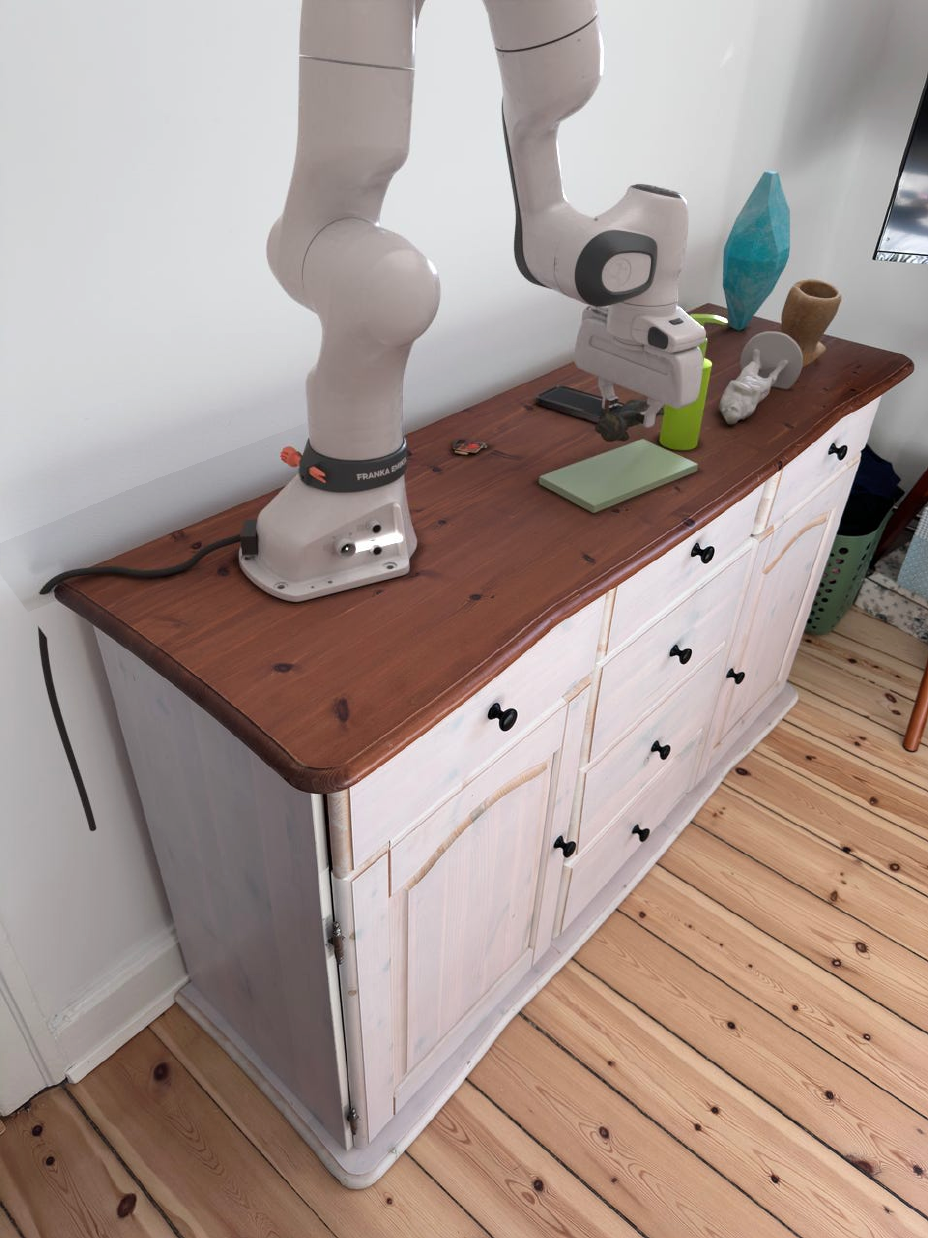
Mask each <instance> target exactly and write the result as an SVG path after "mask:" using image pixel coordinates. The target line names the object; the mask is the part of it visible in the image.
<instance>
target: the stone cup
mask: <svg viewBox="0 0 928 1238" xmlns="http://www.w3.org/2000/svg"><path fill="white" fill-rule="evenodd" d="M841 303H842V293H841V290H840V289H838V287H836V286H835V285H833V284H831V283H829V282H828V281H825V280H821V279H816V278H804V279H799V280H798V281H796V282H795V283H794V284H793V285H792V286H791V288H790V289H789V290H788V293H787V296H786V298H785V300H784V304H783V307H782V311H781V322H780V323H781V325H780V333H784V334H786V335H788V336H789V337H791V338H792V339H793V340H794V341H795V342H796V343H797V344H798V346H799V347H800V349H801V351H802V355H803V364H802V368H804V367H806V366H808V365H810V364H812V363H813V362H814V361H816V360H817V359H818V358H819V357H820V356H822V354H824V353H825V351H826V350H827V347H825V345H824V344H823V343H821V342H820V340H821V338H822V337H823V335H824V334H825V333H826V331H827V329H828V328H829V326H830V325H831V323H832V322H833V320H834V319H835V317H836V315H837V313H838V311H839V308H840V305H841Z"/></svg>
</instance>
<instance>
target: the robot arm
mask: <svg viewBox="0 0 928 1238" xmlns="http://www.w3.org/2000/svg"><path fill="white" fill-rule="evenodd" d="M425 1H426V0H301V9H300V23H299V36H298V37H299V40H298V41H299V42H298V55H299V56H298V93H297V94H298V95H297V96H298V101H297V139H296V147H295V148H296V149H295V154H294V161H293V168H292V172H291V177H290V181H289V182H290V183H289V186H288V190H287V194H286V198H285V203H284V207H283V211H282V213H281V214H280V215H279V217H278V218H277V219H276V221H274V223H273V224H272V227H271V228H270V231H269V232H268V235H267V241H266V247H265V252H266V253H265V254H266V259H267V264H268V267H269V270H270V272H271V274H272V275H273V277H274V278H275V280H276V281H277V282H278V284H279V286H280V287H281V288H282V289H283V291H284V292H285V293H286V294H287V295H288V296H289V297H290V298H291V299H292V300H293V301H294V302H295V303H297V304H299V305H300V306H302V307H304V308H305V309H307V310H309V311H310V312H312V313H314V314H316V315H317V317H318V319H319V322H320V326H321V341H320V347H319V353H318V358H317V362H316V363H315V364H314V365H313V366H312V367H311V368H310V370H309V371H308V373H307V375H306V377H305V383H304V385H305V386H304V387H305V397H306V398H305V401H306V411H307V425H308V438H307V440H306V443H305V446H304V449H303V452H302V453H301V452H300V451H298V450H296V449H295V448H294V447H293V446H290V445H288V446H284V447H283V448H282V450H281V451H280V456H279V457H280V460H281V461H282V462H283V463H285V464H287V465H288V466H289V467H290V468H296V467H298V470H297V474H296V475H295V476H294V477H293V478H292V479H291V480H290V481H289V482H288V483H287V484H286V485H285V487H283V488H282V489H281V490H280V491H279V492H278V494H276V496H274V497H273V499H271V500H270V501H269V502H268V503H267V504H266V505H265V506H264V507H263V508H262V509H261V510H260V512H259V513H258V517H257V519H255V518H254V519H253V518H251V519H244V520H243V524H242V527H241V531H240V533H238V534H235V535H232V536H229V537H225V538H222V539H219V540H216V541H214V542H212V543H210V544H208V545H205V546H204V547H202V548H201V549H200V550H198V551H197V552H196V553H195V554H194V555H192V557H191V558H190V559H188V560H186V561H184V562H182V563H179V564H177V565H173V566H169V567H165V568H164V567H163V568H157V569H156V568H155V569H134V568H128V567H124V566H117V565H106V566H105V565H104V566H92V567H82V568H75V569H70V570H66V571H63V572H61V573H59V574H57V575H55V576H53V577H52V578H51V579H49V580H48V581H47V582H46V583H45V584H44V585H43V586H42V588H41V589H40V590H39V593H38V594H39V595H47V594H49V593H50V592H51V591H52V590H53V589H54V588H56V586H58V585H59V584H60V583H62V582H64V581H67V580H69V579H73V578H77V577H84V576H94V575H95V576H96V575H105V574H108V575H109V574H115V575H116V574H117V575H121V576H126V577H131V578H133V577H134V578H139V579H140V578H141V579H143V578H158V577H159V578H160V577H166V576H172V575H176V574H179V573H182V572H184V571H187V570H189V569H191V568H193V567H194V566H195V565H197V564H198V563H199V562H200V561H202V559H203V558H205V556H207V555H208V554H210V553H212V552H214V551H216V550H219V549H221V548H224V547H227V546H230V545H234V544H237V543H239V542H240V548H239V551H238V565H239V567H240V569H241V571H242V572H243V573H244V575H245V576H246V577H247V578H248V579H249V580H250V581H251V582H252V583H253V584H254V585H255V586H257V587H258V588H260V589H261V590H262V591H263V592H266V593H267V594H269V595H271V596H273V597H275V598H278V599H281V600H284V601H288V602H293V603H298V602H304V601H308V600H312V599H316V598H321V597H323V596H327V595H330V594H335V593H339V592H343V591H347V590H352V589H354V588H359V587H364V586H367V585H370V584H375V583H379V582H383V581H387V580H391V579H394V578H398V577H402V576H405V575H407V574H408V573H409V572H410V569H411V567H410V559H411V557H412V556H413V554H414V553H415V551H416V550H417V546H418V538H417V535H416V533H415V529H414V527H413V523H412V519H411V515H410V510H409V504H408V503H409V502H408V497H407V491H406V479H405V478H406V477H405V475H406V471H408V470H407V469H408V449H407V439H406V437H405V436H404V381H405V380H404V379H405V374H406V368H407V363H408V360H409V357H410V353H411V351H412V347H413V345H414V343H415V341H416V340H419V338H420V337H422V336H423V335H424V334H425V333H426V332H427V330H428V329H429V328H430V327H431V325H432V324H433V322H434V320H435V318H436V316H437V314H438V310H439V307H440V303H441V296H442V295H441V294H442V291H441V289H442V288H441V282H440V278H439V274H438V272H437V269H436V267H435V266H434V264H433V263H432V262H431V261H430V259H429V258H428V257H427V256H426V255H424V253H423V252H422V251H421V250H420V249H419V248H418V247H417V246H415V245H414V244H413V243H412V242H411V241H410V240H409V239H408V238H406V237H404V236H403V235H401V234H399V233H398V232H397V233H396V232H394V231H392V230H389V229H387V228H384V227H382V226H381V224H380V223H381V222H380V219H381V211H382V208H383V203H384V201H385V198H386V194H387V191H388V188H389V186H390V183H391V182H392V179H393V177H394V176H395V175H396V173H398V172H399V171H400V170H401V169H402V168H403V167H404V165H405V164H406V162H407V160H408V157H409V154H410V148H411V147H410V145H411V131H412V116H413V102H414V101H413V100H414V86H415V68H416V54H417V53H416V52H417V28H418V22H419V20H420V19H419V18H420V15H421V12H422V9H423V6H424V4H425ZM481 1H482V4H483V5H484V8H485V11H486V13H487V18H488V25H489V29H490V33H491V38H492V42H493V47H494V51H495V56H496V60H497V64H498V65H497V66H498V69H499V75H500V80H501V87H502V97H501V98H502V99H501V122H502V131H503V138H504V146H505V152H506V153H505V154H506V159H507V164H508V171H509V177H510V183H511V189H512V195H513V201H514V202H513V203H514V210H515V226H514V238H513V239H514V240H513V254H514V261H515V264H516V267H517V269H518V271H519V273H520V274H521V275H522V276H523V278H524V279H525V280H527V282H529V283H531V284H532V285H536V286H539V287H541V288H545V289H550V290H553V291H555V292H557V293H559V294H561V295H563V296H565V297H568V298H570V299H574V300H575V301H578V302H580V303H582V304H584V305H587V306H586V307H585V308H584V309H583V310H582V313H581V324H580V326H579V329H578V333H577V335H576V336H577V337H576V342H575V347H574V352H573V362H574V365H575V367H576V368H577V369H579V370H580V371H583V372H585V373H587V374H590V375H593V376H595V377H598V379H597V385H598V388H599V392H600V394H601V397H603V401H602V408H603V409H605V410H608V411H612V410H616V409H617V407H618V404H617V403H618V402H619V400H620V397H618V396H616V393H615V390H614V385H613V384H615V385H617V386H620V387H621V388H624V389H627V390H629V391H632V392H634V393H636V394H639V395H642V396H643V397H646V398H647V400H646V402H647V404H648V405H650V406H649V408H648V409H647V411H645V412H641V413H639V420H638V424H639V425H640V426H642V427H644V428H647V429H648V428H651V427H653V426H654V425H655V421H656V418H655V416H656V414H657V413H658V411H659V410H660V409H661V408H662V407H664V406H665V405H668V406H670V407H673V408H675V409H680V408H683V407H686V406H688V405H691V404H692V403H693V402H694V401H696V399H697V398H698V395H699V391H700V386H701V379H702V370H703V356H702V352H701V350H700V349H699V348H698V347H697V346H698V345H700V344H703V343H704V341H705V338H707V337H706V334H707V332H706V331H707V330H706V329H705V327H704V328H703V327H702V326H701V325H700V324H698V323H697V322H696V321H694V320H693V319H692V318H691V317H690V314H688V313H686V311H684V310H683V308H681V306H679V305H678V303H679V287H678V282H679V277H680V274H681V271H682V270H683V268H684V263H685V258H686V252H687V245H688V244H687V243H688V237H689V236H688V234H689V207H688V203H687V202H688V201H687V199H686V198H685V197H684V196H683V195H682V194H681V193H679V192H678V191H674V190H671V189H667V188H664V187H659V186H656V185H651V184H644V183H637V184H636V183H635V184H632V185H629V186H628V187H627V189H626V192H625V194H624V195H623V196H622V198H621V199H620V200H619V201H618V202H617V203H615V204H614V205H613V206H611V207H610V208H609V209H608V210H606V211H604V212H603V213H601V214H598V215H595V216H590V215H587V214H584V213H582V212H580V211H578V210H577V209H576V208H575V207H574V206H573V205H572V204H571V203H570V202H569V201H568V199H567V197H566V194H565V192H564V186H563V180H562V179H563V178H562V168H561V161H560V160H561V159H560V153H559V152H560V151H559V144H558V134H559V133H558V132H559V128H560V125H561V123H562V122H563V121H565V120H567V119H568V118H570V117H572V116H574V115H575V114H576V113H578V112H579V111H580V110H582V109H583V108H584V107H585V106H586V105H587V104H588V103H589V101H590V100H591V99H592V97H593V96H594V94H595V93H596V90H597V89H598V87H599V85H600V83H601V81H602V77H603V75H604V42H603V41H604V40H603V36H602V35H603V34H602V28H601V23H600V17H599V11H598V6H597V1H596V0H481ZM37 634H38V635H37V636H38V647H39V655H40V662H41V668H42V673H43V674H42V675H43V678H44V679H43V680H44V684H45V688H46V693H47V696H48V701H49V704H50V708H51V711H52V715H53V718H54V721H55V724H56V728H57V732H58V734H59V738H60V740H61V743H62V746H63V749H64V752H65V756H66V758H67V761H68V764H69V767H70V770H71V773H72V776H73V779H74V782H75V786H76V788H77V792H78V795H79V798H80V801H81V804H82V808H83V810H84V815H85V819H86V822H87V825H88V829H89V831H90V832H95V831H96V830H97V825H96V821H95V817H94V814H93V810H92V807H91V803H90V800H89V796H88V793H87V789H86V786H85V783H84V781H83V777H82V774H81V770H80V768H79V765H78V762H77V759H76V756H75V753H74V750H73V747H72V744H71V741H70V738H69V735H68V732H67V728H66V724H65V721H64V718H63V714H62V712H61V707H60V704H59V702H58V697H57V693H56V688H55V684H54V679H53V673H52V668H51V663H50V661H51V660H50V654H49V647H48V637H47V636H46V635H45V633H44V632H43V630H42V629H41V627H39V625H37Z"/></svg>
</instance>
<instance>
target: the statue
mask: <svg viewBox="0 0 928 1238" xmlns="http://www.w3.org/2000/svg"><path fill="white" fill-rule="evenodd" d="M649 406H650V405H648V404H647V401H645V400H644V399H643V398H634V399H629V400H627V401H626V402H625V403H624V405H623V406H622V408H621V411H620V412H619V413H616V414H613V413H611V412H609V411H601V413H600V419H599V421H598V423H596V424H595V426H594V430H595V432H596V433H597V434H599V435H600V436H601V438H602V439H603V440H604V441H605V442H607V443H613V442H616V441H617V442H627V441H629V439H630V438H631V437H630V435H629V432H628V430H629V428H632V427H635V426H639V425H640V424H638V420H639V413H641V412H645V411H647V409H648V408H649ZM664 409H665V408H664V406H662V408H661V409H660V410H659V411H658V413H657V414H656V416H655V419H657V417H658V416H663V415H664Z"/></svg>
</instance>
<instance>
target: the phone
mask: <svg viewBox="0 0 928 1238" xmlns="http://www.w3.org/2000/svg"><path fill="white" fill-rule="evenodd" d="M535 399H536V400H535V403H536V405H537V406H541V407H544V408H548V409H550V410H554V411H558V412H561V413H563V414H566V415H570V416H573V417H577V418H579V419H582V420H587V421H590V422H593V423H595V424H597V423H598V421H599V419H600V413H601V411H608V410H605V409H603V408H602V401H603V397H602V396H600V395H596V394H593V393H589V392H587V391H583V390H580V389H576V388H573V387H569V386H566V385H555V386H553V387H551V388H549V389H547V390H545V391H543V392H541V393H539V394H537V395H536V398H535ZM617 404H618V407H617V409H616V410H612V411H609V412H611V413H613V414H616V413H619V412H620V411H621V408H622V406H623V405H624V404H625V403H623V402H620V401H618V403H617Z"/></svg>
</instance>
